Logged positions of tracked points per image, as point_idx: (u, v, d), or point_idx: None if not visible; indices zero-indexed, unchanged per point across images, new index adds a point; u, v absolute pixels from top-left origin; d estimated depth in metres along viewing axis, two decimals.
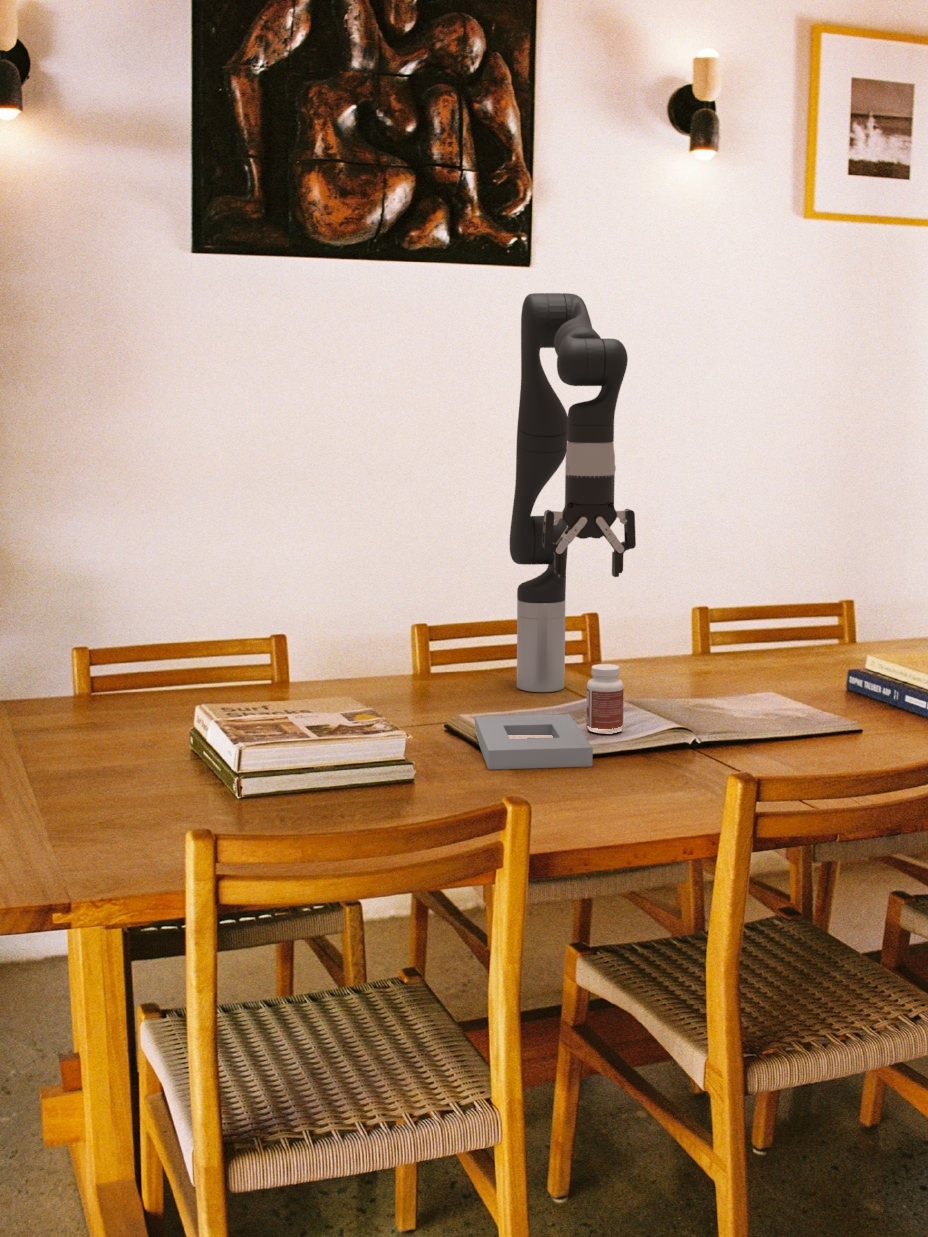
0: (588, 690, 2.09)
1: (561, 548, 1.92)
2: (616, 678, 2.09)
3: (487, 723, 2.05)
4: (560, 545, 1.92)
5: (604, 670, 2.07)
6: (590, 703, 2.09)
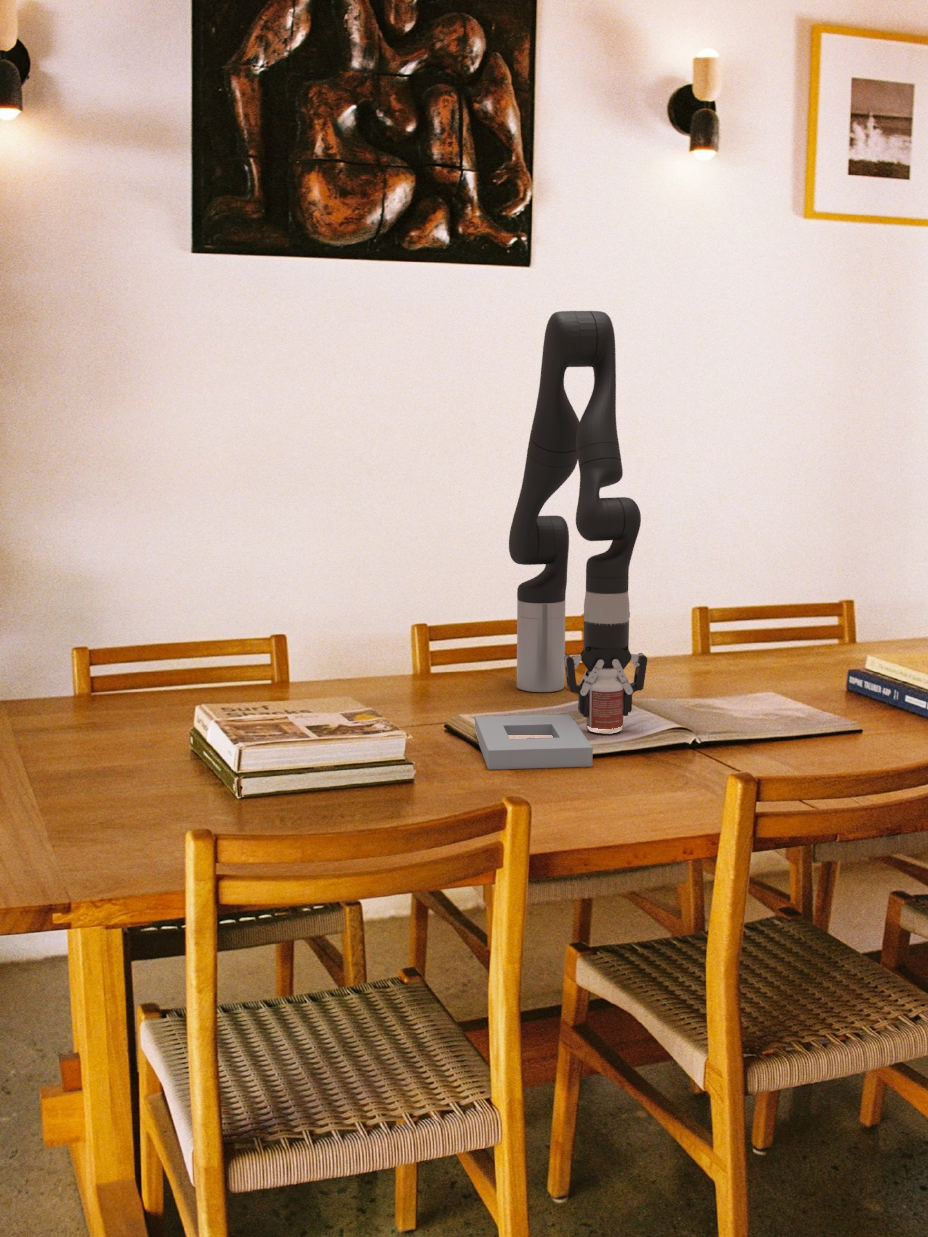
0: None
1: (585, 690, 2.09)
2: (616, 678, 2.09)
3: (487, 723, 2.05)
4: (584, 688, 2.09)
5: (604, 670, 2.07)
6: (590, 703, 2.09)
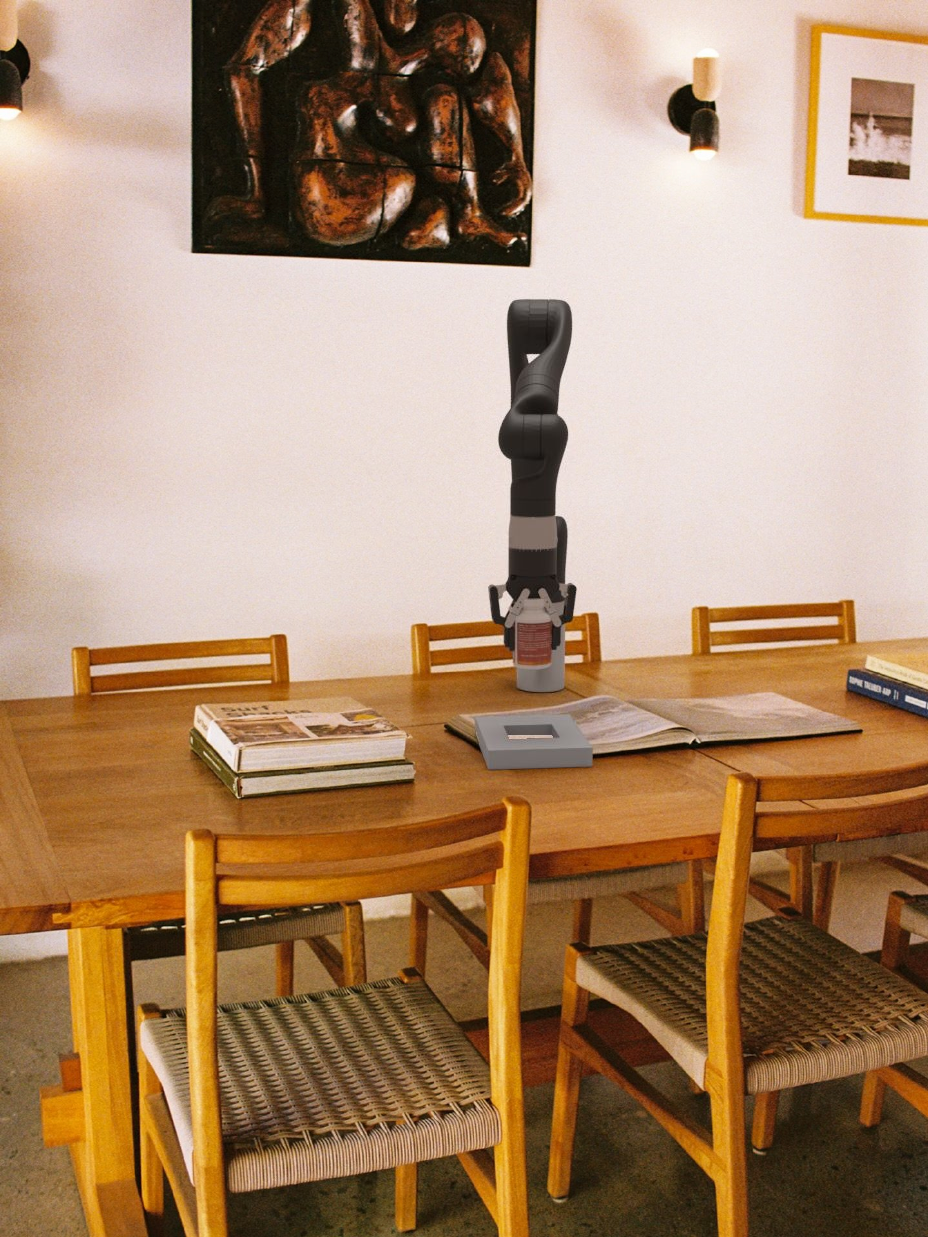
0: (514, 622, 1.96)
1: (510, 622, 1.95)
2: (543, 609, 1.95)
3: (487, 723, 2.05)
4: (509, 619, 1.95)
5: (530, 600, 1.94)
6: (515, 636, 1.96)
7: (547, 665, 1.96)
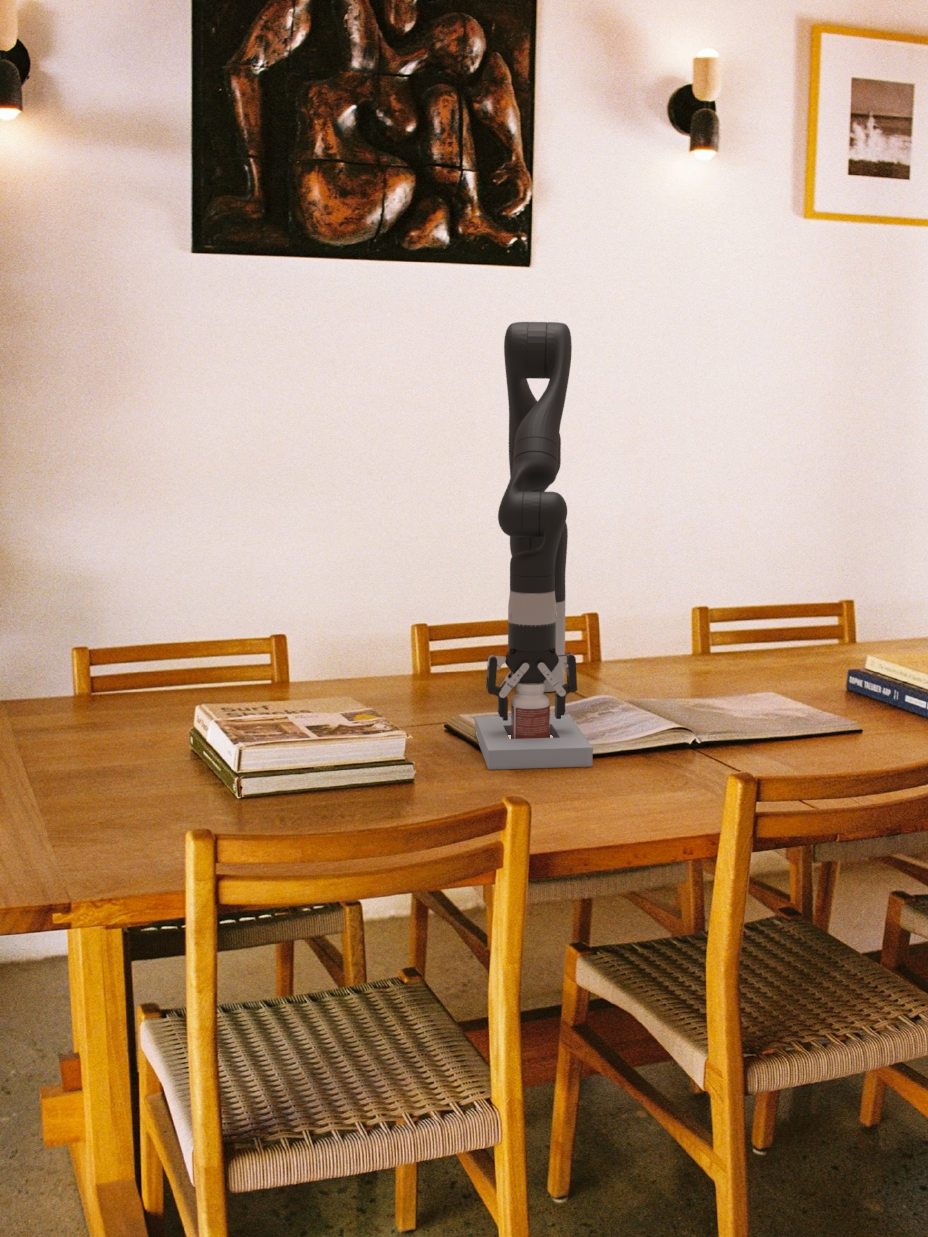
0: (512, 707, 1.98)
1: (504, 692, 1.97)
2: (542, 694, 1.98)
3: (487, 723, 2.05)
4: (503, 689, 1.97)
5: (528, 686, 1.96)
6: (514, 721, 1.98)
7: None
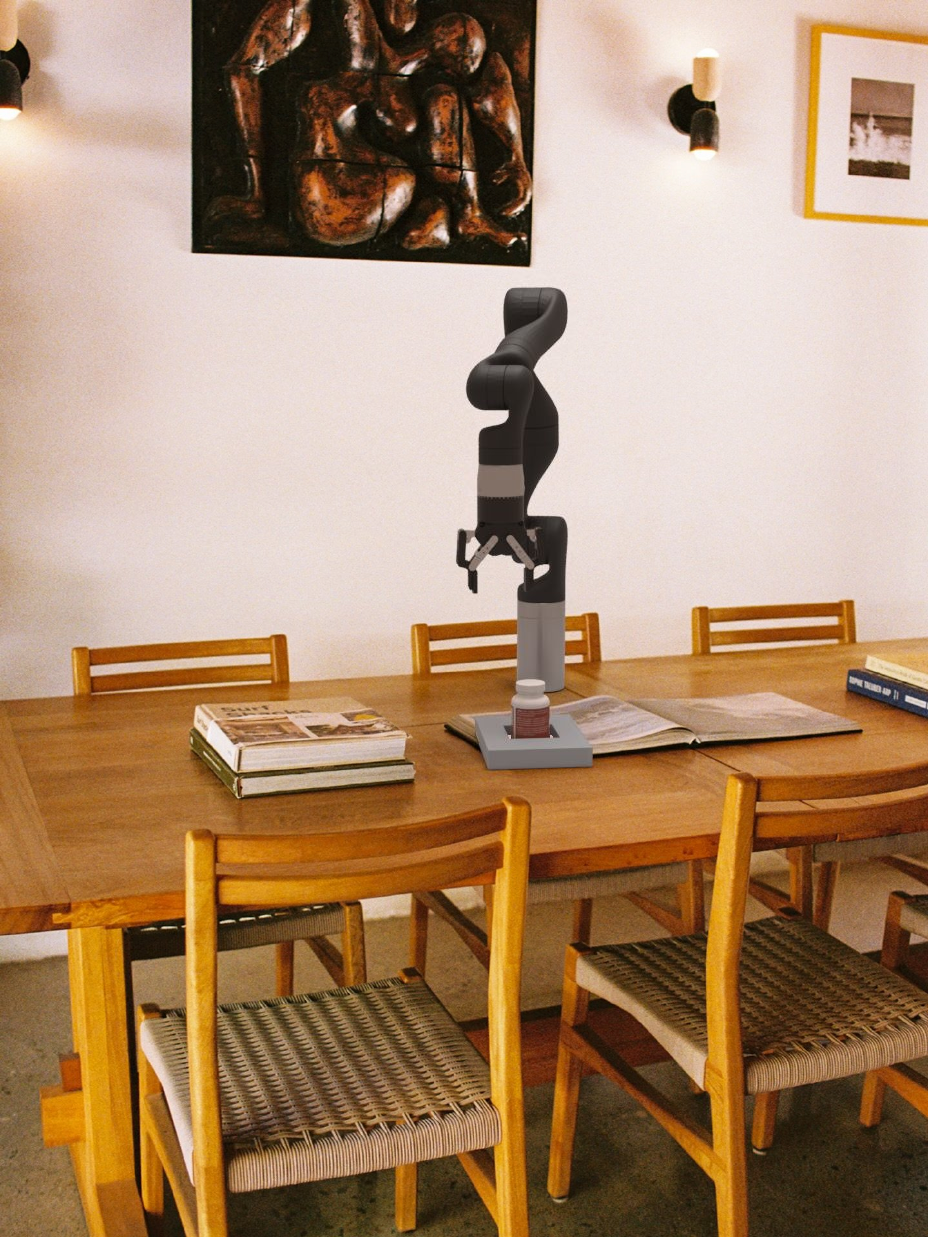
0: (512, 707, 1.98)
1: (474, 565, 2.01)
2: (541, 694, 1.98)
3: (487, 723, 2.05)
4: (473, 562, 2.01)
5: (528, 686, 1.96)
6: (514, 721, 1.98)
7: None
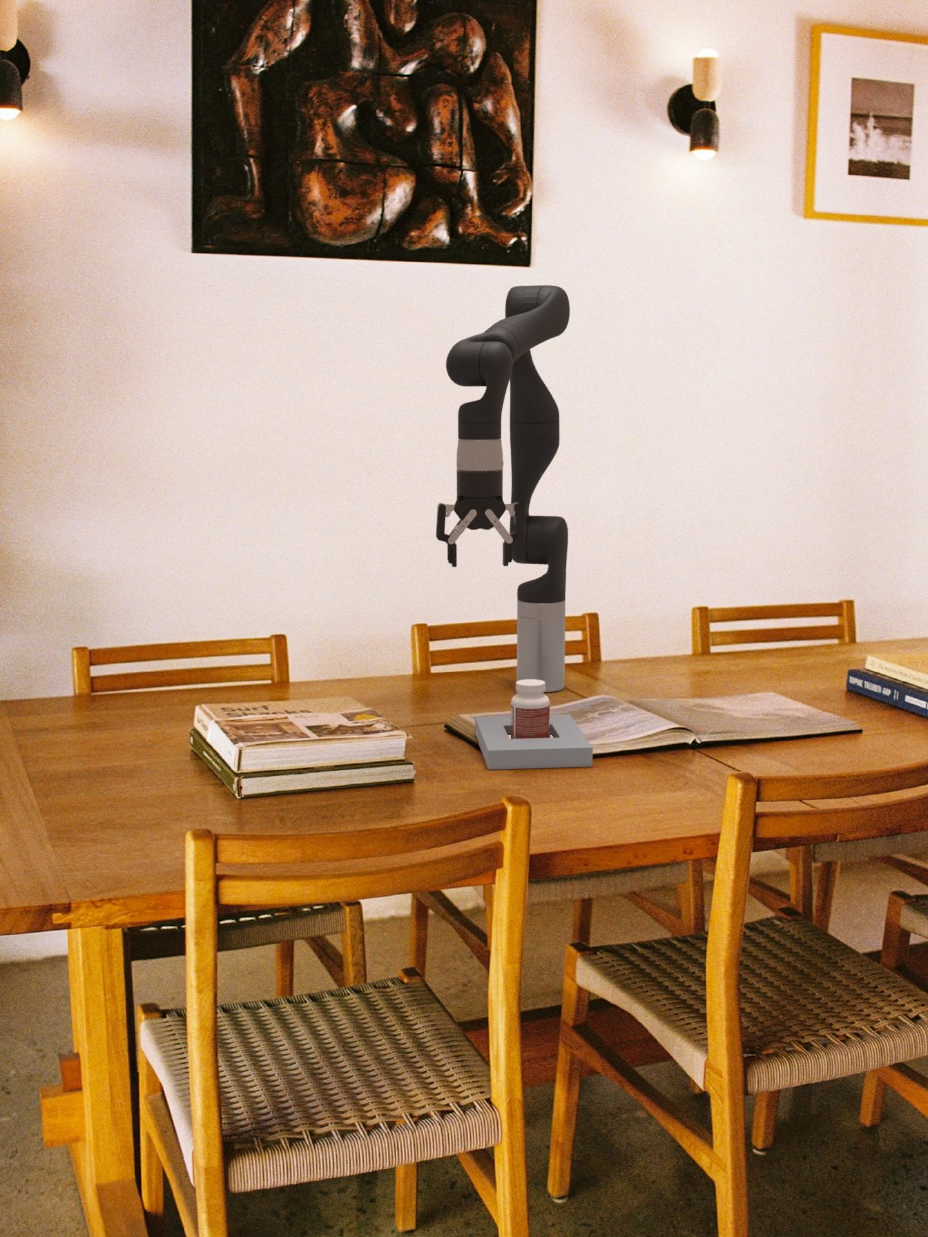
0: (512, 707, 1.98)
1: (453, 539, 2.04)
2: (541, 694, 1.98)
3: (487, 723, 2.05)
4: (452, 536, 2.04)
5: (528, 686, 1.96)
6: (514, 721, 1.98)
7: None
